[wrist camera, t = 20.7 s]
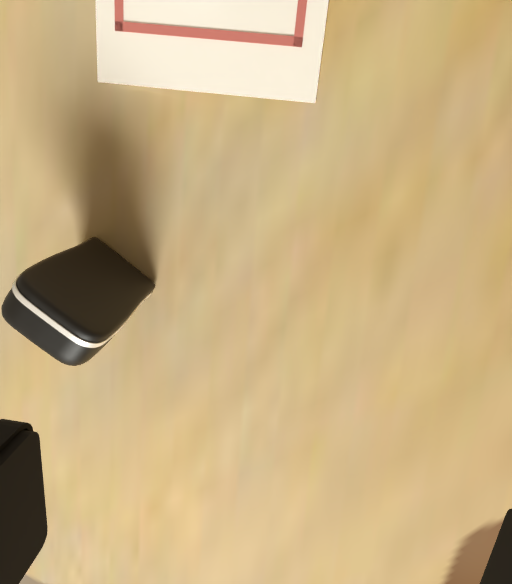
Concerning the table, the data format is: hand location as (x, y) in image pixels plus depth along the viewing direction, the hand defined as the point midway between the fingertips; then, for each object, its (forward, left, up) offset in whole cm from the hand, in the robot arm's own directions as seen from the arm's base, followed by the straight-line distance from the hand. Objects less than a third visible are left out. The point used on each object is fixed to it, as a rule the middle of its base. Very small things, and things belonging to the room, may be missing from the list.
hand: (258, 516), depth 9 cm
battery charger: (+15, +6, -28) cm, 33 cm away
